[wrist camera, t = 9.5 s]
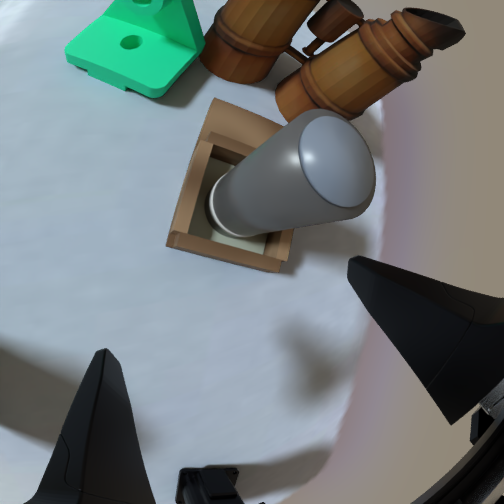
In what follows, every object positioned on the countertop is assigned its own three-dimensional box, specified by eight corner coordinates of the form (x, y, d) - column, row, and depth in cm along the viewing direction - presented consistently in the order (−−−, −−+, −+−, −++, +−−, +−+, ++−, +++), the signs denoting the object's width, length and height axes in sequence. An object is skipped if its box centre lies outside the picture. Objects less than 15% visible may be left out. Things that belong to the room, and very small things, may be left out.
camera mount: (64, 66, 16) (50, -6, 7) (111, 23, 18) (118, -46, 8) (156, 107, 21) (176, 28, 11) (199, 58, 22) (233, -13, 13)
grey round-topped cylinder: (244, 250, 22) (361, 244, 11) (191, 216, 21) (267, 164, 9) (272, 200, 23) (390, 158, 12) (224, 165, 22) (317, 85, 10)
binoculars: (182, 57, 21) (268, -108, 3) (222, 23, 23) (309, -99, 5) (324, 153, 27) (493, 82, 9) (343, 108, 29) (475, 40, 11)
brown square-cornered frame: (265, 272, 24) (284, 273, 21) (165, 246, 21) (169, 244, 18) (294, 136, 26) (312, 123, 23) (211, 101, 22) (222, 83, 19)
